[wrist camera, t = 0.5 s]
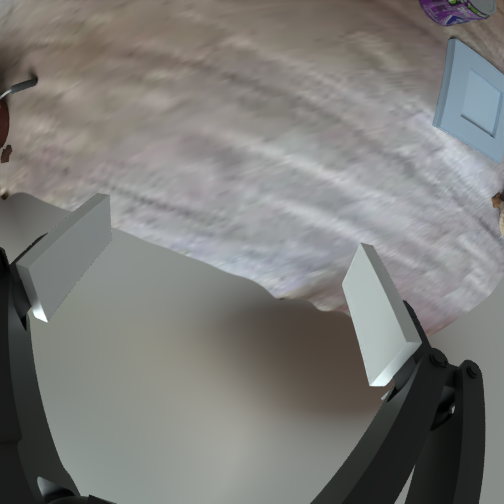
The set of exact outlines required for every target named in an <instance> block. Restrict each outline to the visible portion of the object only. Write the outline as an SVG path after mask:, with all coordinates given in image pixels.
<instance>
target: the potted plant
mask: <svg viewBox="0 0 504 504" xmlns="http://www.w3.org/2000/svg"><path fill="white" fill-rule="evenodd" d="M35 85H36V79H35V78H34V79H31V80H28V81H25V82H22V83H19V84H16V85H13V86H11V89H9V90H7V91H6V92H5V93H4V94H2V95H1V96H0V148H1V147H3V145H4V143H5V142H6V139H7V136H8V131H9V114H8V109H7V106H6V104H5V102H4V101H3V100H2V99H1V98H2V97H4V96H5V95H6V94H7V93H9V92H11V93H12V94H13V93H15V92H18V91H21V90H24V89H26V88H29V87H32V86H35ZM11 152H12V149H11V146H10V145H7V147H6V149H3V152H2V155H1V163H5V162H8V161H9V155H10V154H11Z"/></svg>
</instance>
